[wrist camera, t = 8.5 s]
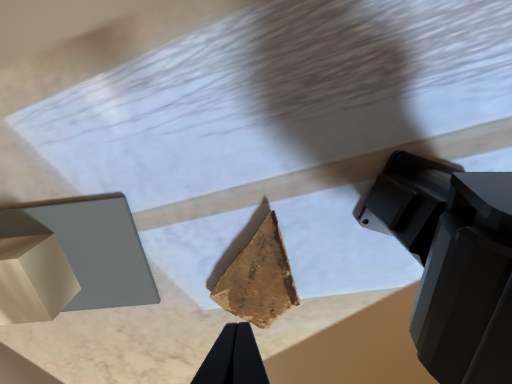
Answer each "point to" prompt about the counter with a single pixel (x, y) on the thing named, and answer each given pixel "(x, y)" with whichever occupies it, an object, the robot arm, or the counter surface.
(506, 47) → the counter surface
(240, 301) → the shard
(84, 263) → the rubber mat
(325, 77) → the counter surface
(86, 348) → the counter surface
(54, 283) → the beige block
